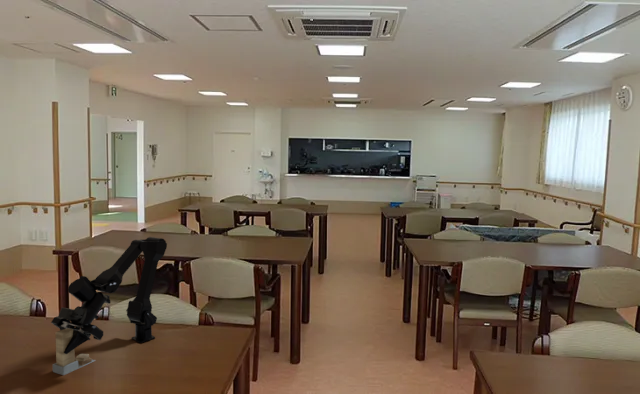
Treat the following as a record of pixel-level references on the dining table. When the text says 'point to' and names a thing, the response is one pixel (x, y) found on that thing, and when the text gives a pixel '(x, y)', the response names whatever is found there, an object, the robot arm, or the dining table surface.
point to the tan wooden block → (64, 347)
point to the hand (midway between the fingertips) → (61, 352)
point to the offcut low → (84, 361)
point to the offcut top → (82, 357)
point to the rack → (67, 367)
